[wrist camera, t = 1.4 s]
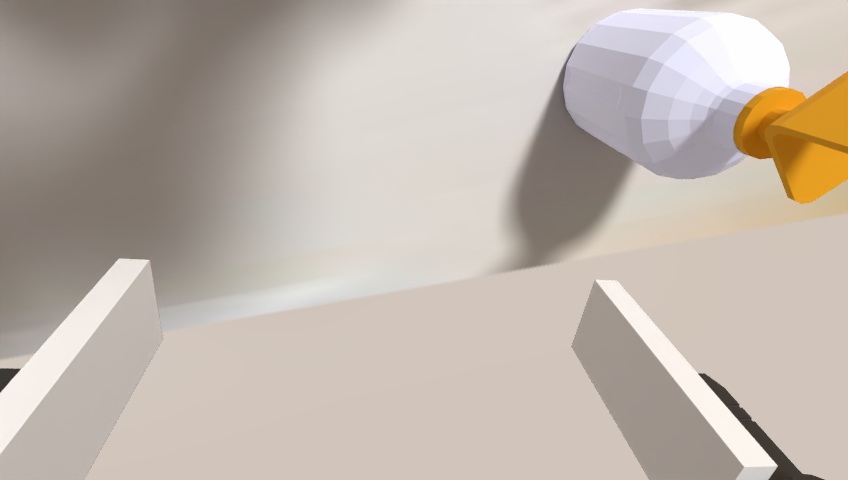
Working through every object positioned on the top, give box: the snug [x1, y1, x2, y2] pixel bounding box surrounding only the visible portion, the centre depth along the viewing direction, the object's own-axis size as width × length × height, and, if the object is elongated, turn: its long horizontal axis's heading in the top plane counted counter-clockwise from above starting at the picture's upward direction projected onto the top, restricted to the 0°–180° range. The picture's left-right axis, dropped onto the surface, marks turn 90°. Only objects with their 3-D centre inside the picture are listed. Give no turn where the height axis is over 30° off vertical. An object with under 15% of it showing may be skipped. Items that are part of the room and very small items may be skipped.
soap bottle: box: [563, 8, 848, 204], centre depth 24 cm, size 9×9×25 cm
